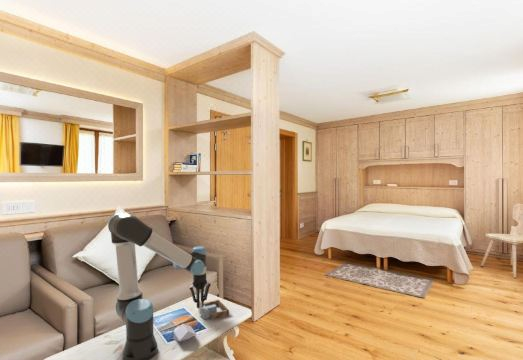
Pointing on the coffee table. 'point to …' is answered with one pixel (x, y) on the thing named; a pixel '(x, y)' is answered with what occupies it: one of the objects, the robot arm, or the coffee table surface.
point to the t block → (208, 311)
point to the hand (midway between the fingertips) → (200, 312)
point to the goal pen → (224, 310)
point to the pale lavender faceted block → (183, 333)
